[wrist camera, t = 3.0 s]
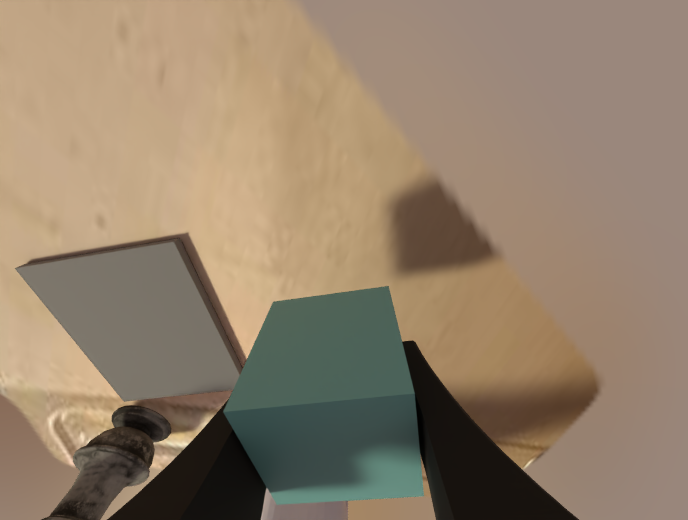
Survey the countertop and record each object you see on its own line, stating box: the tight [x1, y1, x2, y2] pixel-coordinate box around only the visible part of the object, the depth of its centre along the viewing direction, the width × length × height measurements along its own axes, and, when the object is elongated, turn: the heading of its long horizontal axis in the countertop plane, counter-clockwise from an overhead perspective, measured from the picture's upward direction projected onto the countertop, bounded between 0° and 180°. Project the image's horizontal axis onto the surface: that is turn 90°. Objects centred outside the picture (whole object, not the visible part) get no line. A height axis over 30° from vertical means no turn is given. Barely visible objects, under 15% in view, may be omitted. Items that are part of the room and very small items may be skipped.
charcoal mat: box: [15, 238, 242, 401], centre depth 19 cm, size 13×11×1 cm
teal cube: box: [223, 286, 424, 505], centre depth 10 cm, size 5×5×5 cm
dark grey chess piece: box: [42, 406, 171, 520], centre depth 19 cm, size 6×6×12 cm
